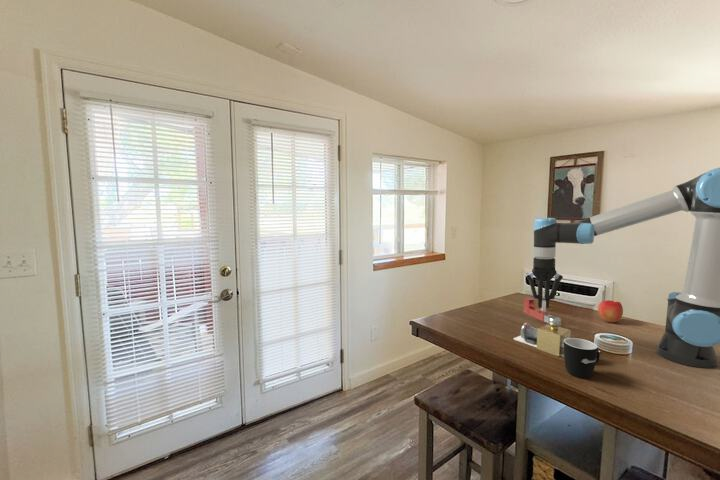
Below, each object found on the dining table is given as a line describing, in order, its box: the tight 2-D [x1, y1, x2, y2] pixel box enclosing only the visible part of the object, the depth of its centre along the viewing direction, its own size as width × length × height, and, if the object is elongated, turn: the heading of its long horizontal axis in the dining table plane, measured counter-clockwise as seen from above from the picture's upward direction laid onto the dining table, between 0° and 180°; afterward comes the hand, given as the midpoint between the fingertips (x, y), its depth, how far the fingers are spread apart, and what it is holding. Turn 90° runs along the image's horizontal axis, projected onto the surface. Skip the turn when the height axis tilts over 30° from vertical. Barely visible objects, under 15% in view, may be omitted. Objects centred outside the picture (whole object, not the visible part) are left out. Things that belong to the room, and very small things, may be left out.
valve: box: [519, 322, 572, 357], centre depth 124 cm, size 22×8×10 cm, turn 34°
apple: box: [597, 299, 624, 323], centre depth 153 cm, size 10×10×10 cm
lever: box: [522, 297, 562, 327], centre depth 129 cm, size 17×4×6 cm, turn 11°
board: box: [513, 334, 601, 358], centre depth 128 cm, size 25×15×1 cm, turn 34°
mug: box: [563, 337, 601, 379], centre depth 107 cm, size 12×9×10 cm
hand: (543, 315), depth 132 cm, fingers closed
